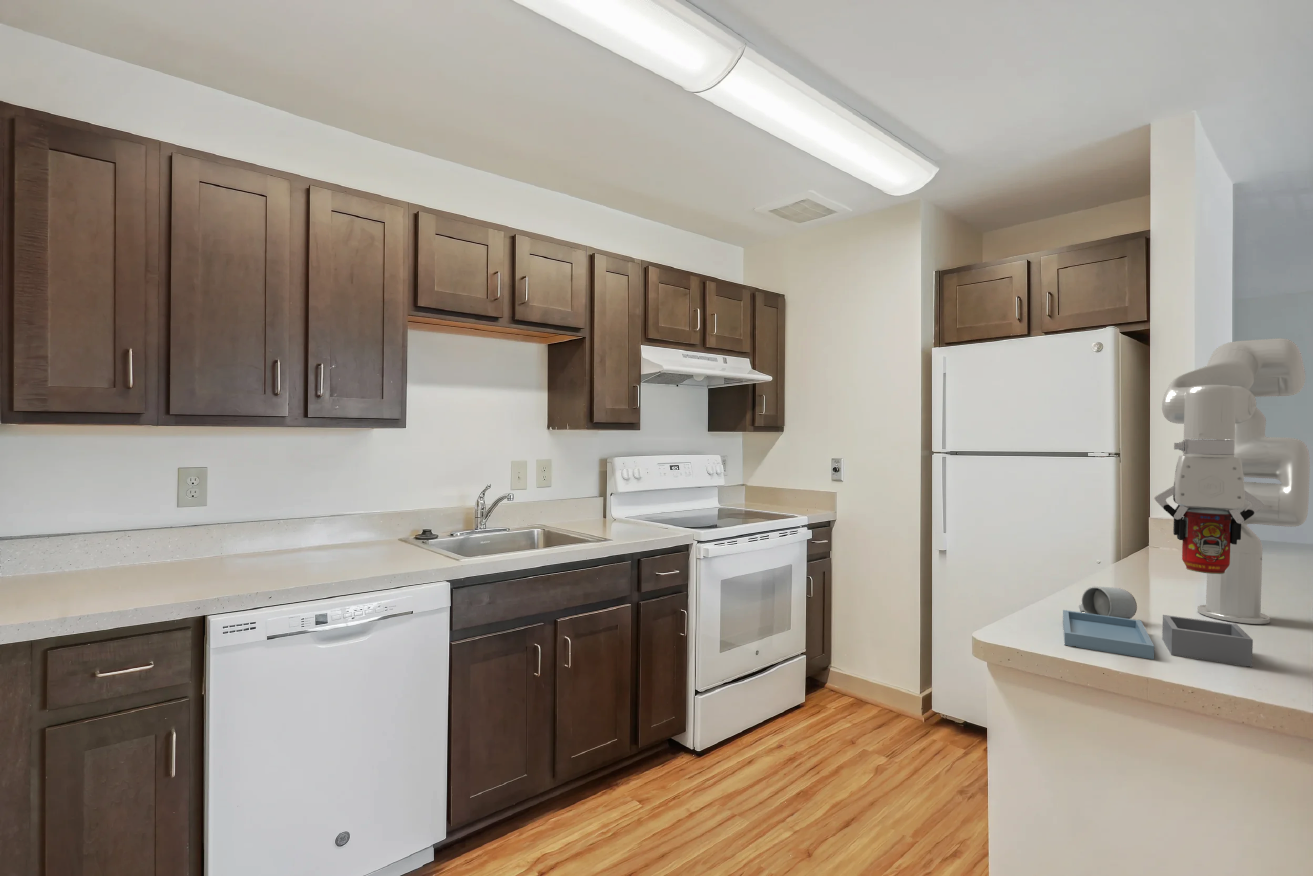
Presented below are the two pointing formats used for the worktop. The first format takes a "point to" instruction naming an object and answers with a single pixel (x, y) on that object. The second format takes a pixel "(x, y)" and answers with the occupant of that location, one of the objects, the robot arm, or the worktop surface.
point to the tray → (1107, 634)
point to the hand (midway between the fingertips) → (1206, 540)
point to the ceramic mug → (1108, 602)
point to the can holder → (1207, 640)
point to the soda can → (1207, 540)
